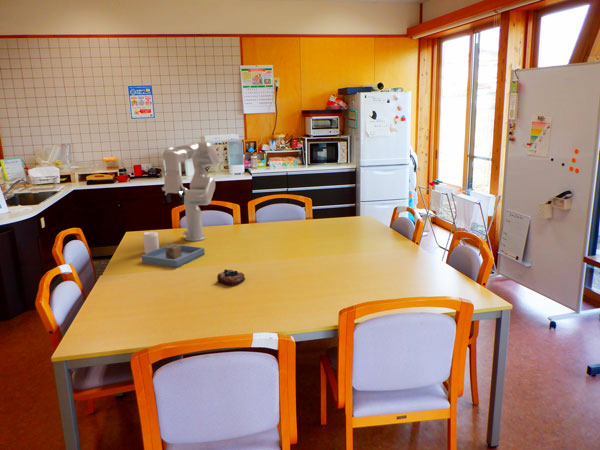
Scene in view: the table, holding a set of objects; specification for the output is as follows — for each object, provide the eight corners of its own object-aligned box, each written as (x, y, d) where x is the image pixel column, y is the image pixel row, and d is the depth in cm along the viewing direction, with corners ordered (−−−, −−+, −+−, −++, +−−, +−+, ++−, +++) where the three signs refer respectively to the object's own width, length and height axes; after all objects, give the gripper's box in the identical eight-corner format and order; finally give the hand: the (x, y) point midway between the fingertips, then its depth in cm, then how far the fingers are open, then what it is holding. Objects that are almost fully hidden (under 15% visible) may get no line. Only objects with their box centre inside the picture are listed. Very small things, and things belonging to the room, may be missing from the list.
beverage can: (142, 253, 274) (139, 233, 271) (152, 249, 281) (150, 230, 278) (152, 255, 271) (150, 235, 268) (162, 251, 278) (160, 231, 274)
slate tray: (142, 262, 259) (141, 255, 258) (171, 250, 280) (170, 243, 279) (177, 268, 249) (176, 260, 248) (204, 254, 270) (204, 247, 269)
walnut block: (166, 257, 263) (165, 247, 262) (173, 254, 268) (172, 244, 267) (174, 259, 261) (173, 248, 259) (181, 255, 266) (180, 245, 264)
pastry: (230, 275, 237) (229, 264, 236) (248, 280, 230) (247, 269, 229) (214, 282, 229) (213, 271, 227) (232, 288, 222) (231, 276, 220)
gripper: (156, 173, 270) (159, 202, 274) (180, 174, 263) (183, 204, 267) (165, 171, 276) (167, 200, 281) (189, 172, 269) (191, 202, 274)
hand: (175, 202), depth 274 cm, fingers open, 9 cm apart
